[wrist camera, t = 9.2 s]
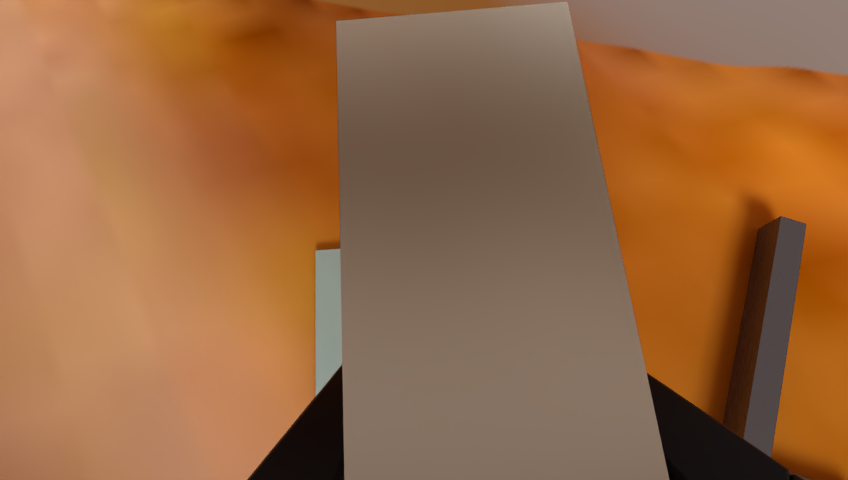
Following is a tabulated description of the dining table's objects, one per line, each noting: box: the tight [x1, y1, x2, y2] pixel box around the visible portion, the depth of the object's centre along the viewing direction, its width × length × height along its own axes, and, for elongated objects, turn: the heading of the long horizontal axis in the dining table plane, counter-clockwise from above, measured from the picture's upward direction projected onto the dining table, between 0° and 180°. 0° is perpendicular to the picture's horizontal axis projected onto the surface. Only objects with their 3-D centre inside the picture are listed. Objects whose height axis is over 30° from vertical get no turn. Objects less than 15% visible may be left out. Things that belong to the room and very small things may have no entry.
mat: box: [316, 249, 342, 395], centre depth 20 cm, size 11×11×1 cm
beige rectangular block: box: [336, 2, 669, 480], centre depth 10 cm, size 7×3×10 cm, turn 4°
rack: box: [723, 216, 806, 457], centre depth 18 cm, size 18×7×2 cm, turn 159°
